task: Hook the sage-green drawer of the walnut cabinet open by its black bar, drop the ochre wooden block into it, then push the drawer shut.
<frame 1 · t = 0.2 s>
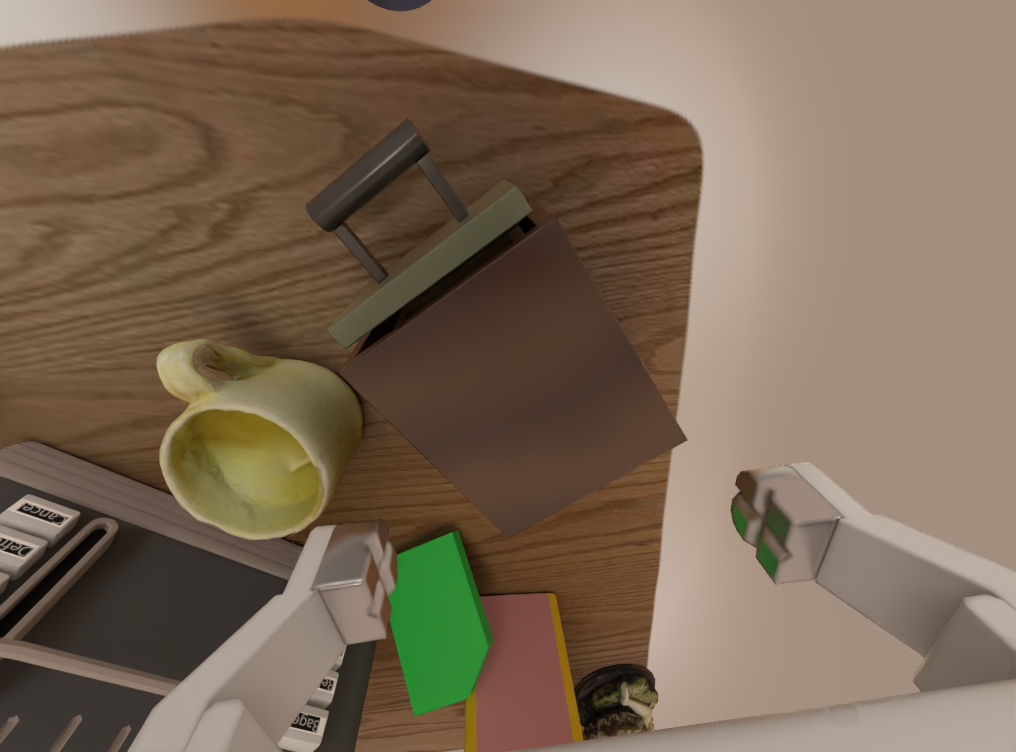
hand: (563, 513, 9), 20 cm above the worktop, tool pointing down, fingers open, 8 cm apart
cabinet: (511, 336, 29), on the worktop
bracket: (432, 621, 34), point 5 cm above the worktop
figurine: (611, 689, 52), on the worktop
drawer: (472, 307, 22), point 5 cm above the worktop, slide at 0.5 cm
mug: (291, 387, 29), on the worktop
toaster: (182, 604, 39), on the worktop, touching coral, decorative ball, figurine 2, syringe
alarm clock: (509, 653, 46), on the worktop, touching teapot
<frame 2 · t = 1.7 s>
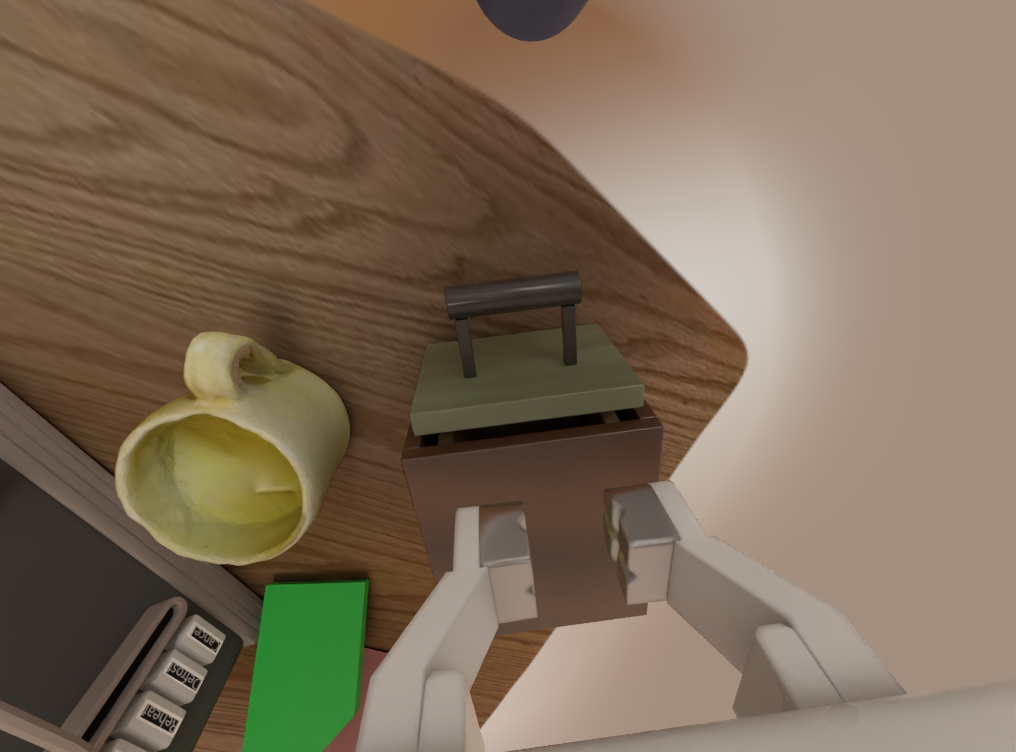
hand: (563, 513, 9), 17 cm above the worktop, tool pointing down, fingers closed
cabinet: (522, 438, 29), on the worktop
bracket: (305, 670, 31), point 5 cm above the worktop
drawer: (525, 424, 23), point 5 cm above the worktop, slide at 0.5 cm
mug: (285, 391, 27), on the worktop
alarm clock: (345, 703, 44), on the worktop, touching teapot
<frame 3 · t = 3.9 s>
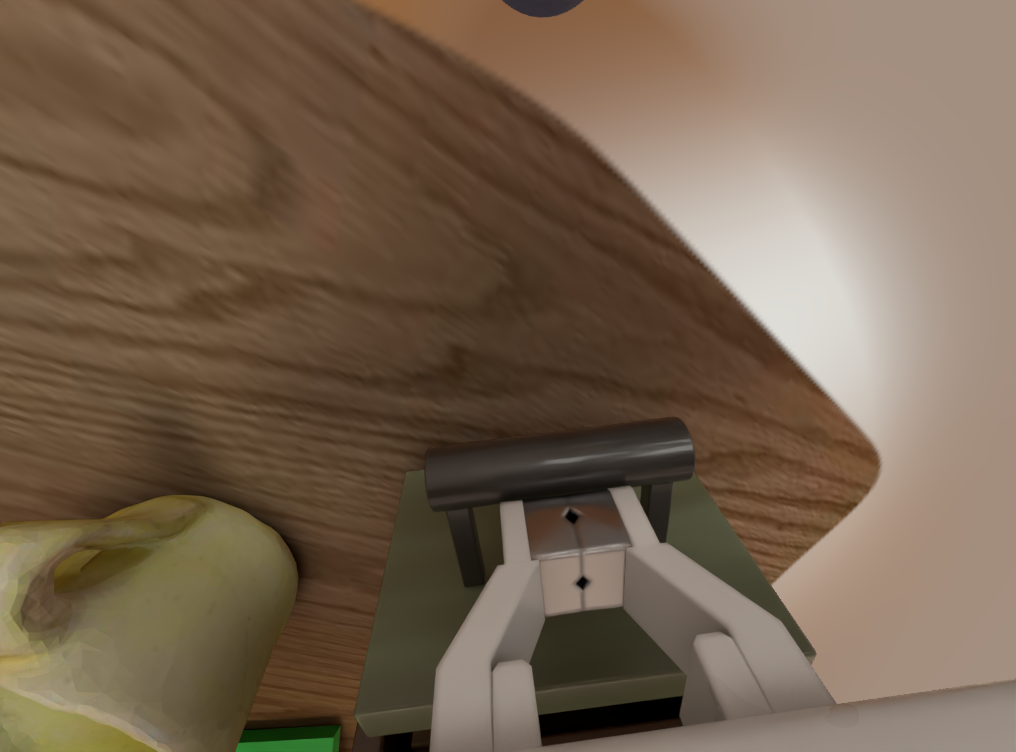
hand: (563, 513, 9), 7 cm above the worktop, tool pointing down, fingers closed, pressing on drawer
cabinet: (547, 574, 21), on the worktop
drawer: (561, 614, 14), point 5 cm above the worktop, slide at 0.7 cm, touching gripper
mug: (199, 527, 18), on the worktop
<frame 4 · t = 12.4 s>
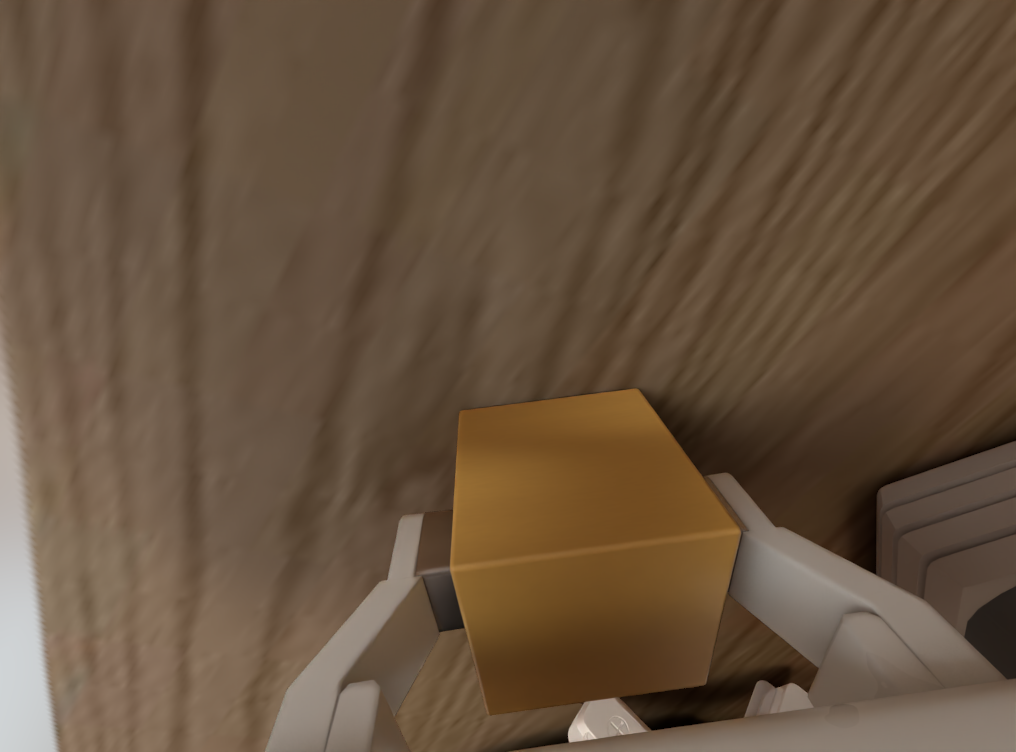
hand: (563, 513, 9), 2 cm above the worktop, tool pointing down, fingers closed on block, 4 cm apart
block: (553, 468, 11), on the worktop, touching gripper
corner connector: (698, 749, 15), point 2 cm above the worktop
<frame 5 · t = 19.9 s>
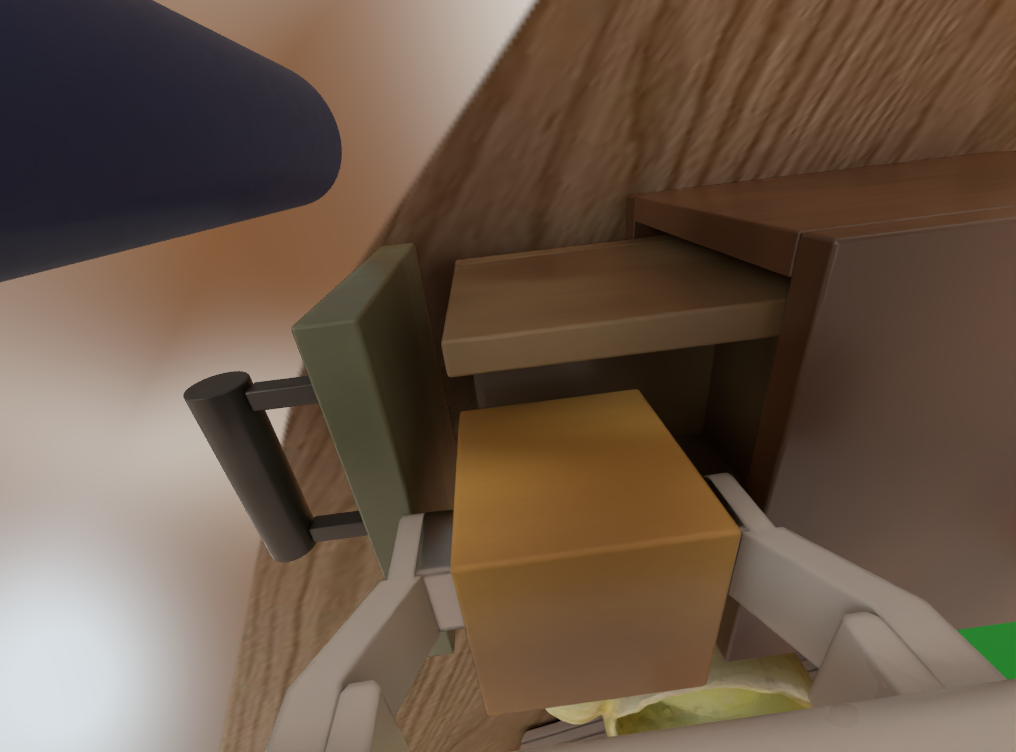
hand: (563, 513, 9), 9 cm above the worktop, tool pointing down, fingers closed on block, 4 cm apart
cabinet: (779, 323, 17), on the worktop
block: (553, 469, 11), point 7 cm above the worktop, touching gripper
drawer: (519, 421, 13), point 5 cm above the worktop, slide at 7.6 cm
mug: (627, 569, 25), on the worktop
toaster: (729, 744, 36), on the worktop, touching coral, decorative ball, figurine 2, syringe
when the fingers open (11 cm above the worktop, at t = 31.7 s): block drops 7 cm, resting on drawer.
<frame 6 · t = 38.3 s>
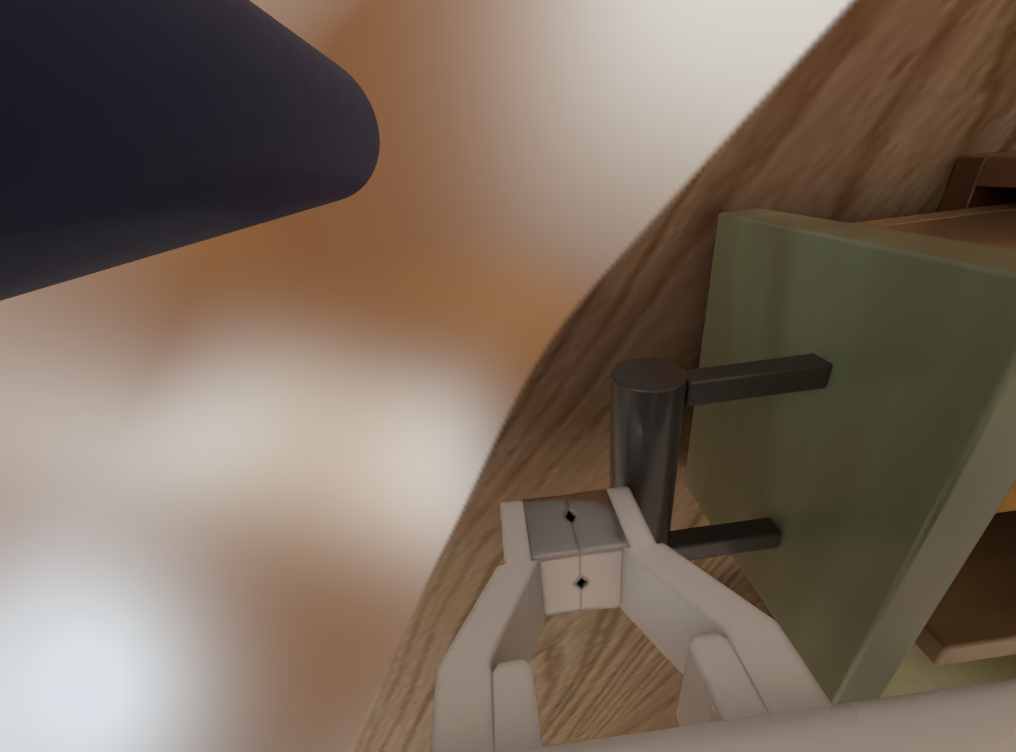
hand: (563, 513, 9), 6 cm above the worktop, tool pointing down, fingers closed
drawer: (914, 417, 11), point 5 cm above the worktop, slide at 6.7 cm, touching block, gripper
mug: (812, 582, 22), on the worktop
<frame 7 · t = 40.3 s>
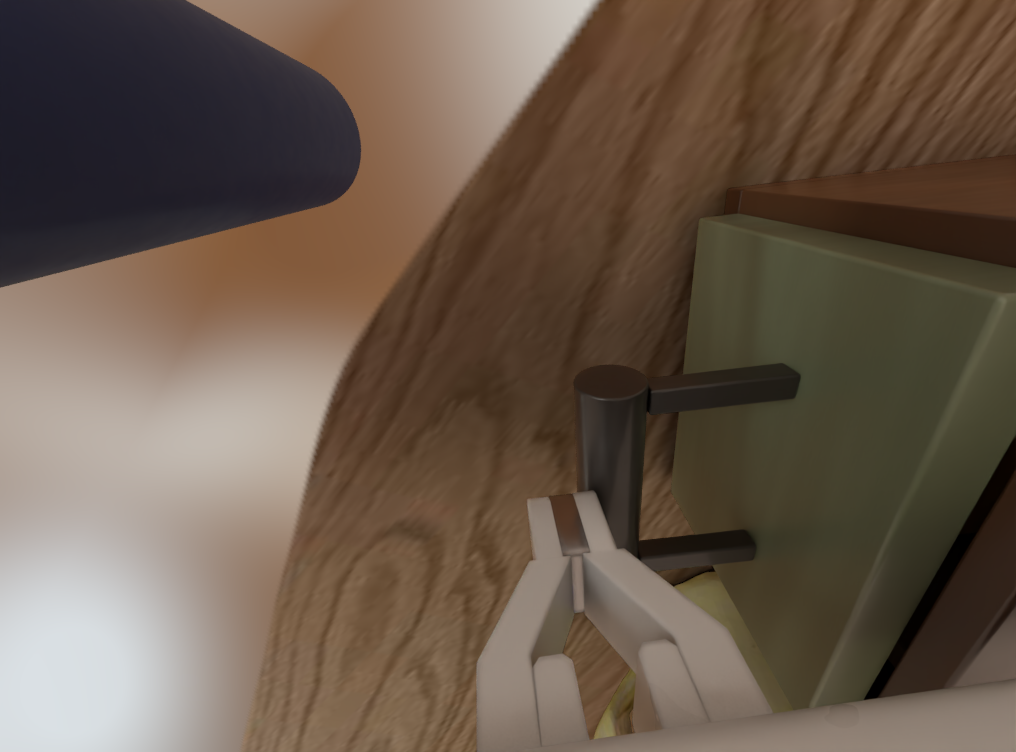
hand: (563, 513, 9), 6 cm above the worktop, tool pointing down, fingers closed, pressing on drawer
cabinet: (891, 341, 15), on the worktop
block: (824, 379, 13), point 2 cm above the worktop, touching drawer
drawer: (898, 430, 11), point 5 cm above the worktop, slide at 0.0 cm, touching block, cabinet, gripper
mug: (684, 609, 22), on the worktop
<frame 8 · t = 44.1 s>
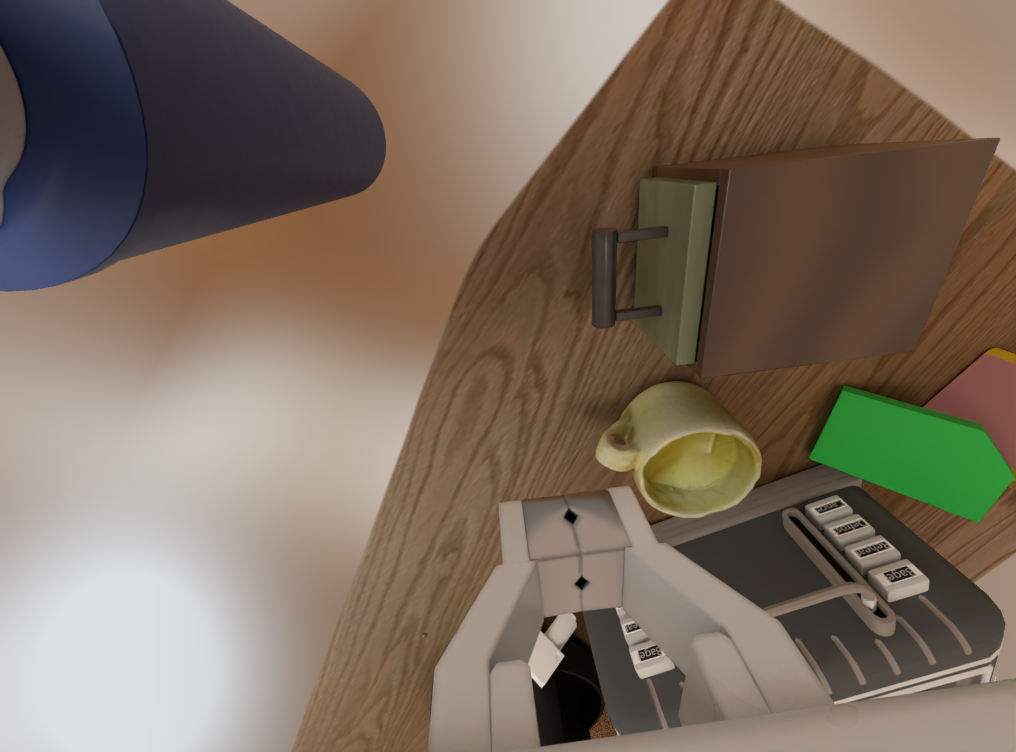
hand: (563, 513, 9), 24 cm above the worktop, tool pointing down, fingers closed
container: (513, 674, 57), on the worktop
cabinet: (735, 241, 31), on the worktop
bracket: (907, 455, 35), point 5 cm above the worktop
corner connector: (536, 630, 49), point 2 cm above the worktop
drawer: (717, 261, 27), point 5 cm above the worktop, slide at 0.0 cm, touching block, cabinet
mug: (645, 415, 38), on the worktop
avocado: (422, 619, 48), point 1 cm above the worktop
toaster: (715, 578, 50), on the worktop, touching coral, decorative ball, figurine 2, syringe
alarm clock: (1003, 424, 42), on the worktop, touching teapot
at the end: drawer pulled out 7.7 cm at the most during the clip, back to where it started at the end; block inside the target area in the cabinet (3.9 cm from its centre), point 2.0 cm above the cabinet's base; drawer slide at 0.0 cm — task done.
